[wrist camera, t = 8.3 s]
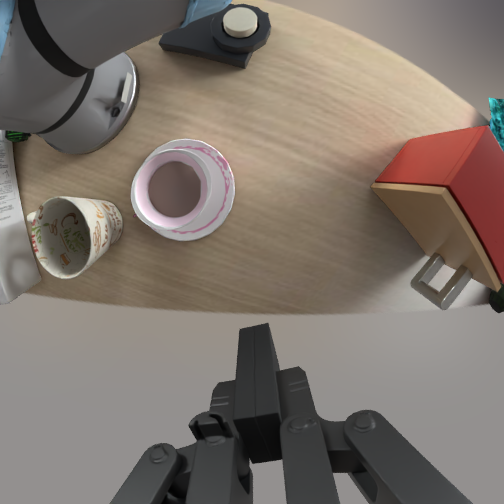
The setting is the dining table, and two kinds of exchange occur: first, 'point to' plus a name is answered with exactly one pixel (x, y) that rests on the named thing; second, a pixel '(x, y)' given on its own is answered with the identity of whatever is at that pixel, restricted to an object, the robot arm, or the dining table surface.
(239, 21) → the button
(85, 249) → the mug
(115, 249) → the dining table surface
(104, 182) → the dining table surface
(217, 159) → the teacup
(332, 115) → the dining table surface
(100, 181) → the dining table surface
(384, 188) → the wooden cabinet door
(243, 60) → the box
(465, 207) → the cabinet
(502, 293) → the grenade
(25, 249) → the tall white carton
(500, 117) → the teal plastic bag
